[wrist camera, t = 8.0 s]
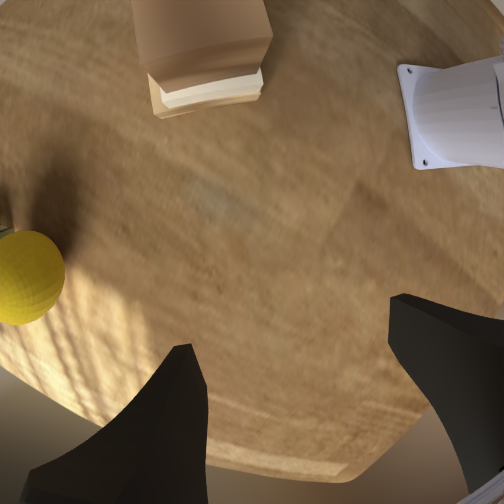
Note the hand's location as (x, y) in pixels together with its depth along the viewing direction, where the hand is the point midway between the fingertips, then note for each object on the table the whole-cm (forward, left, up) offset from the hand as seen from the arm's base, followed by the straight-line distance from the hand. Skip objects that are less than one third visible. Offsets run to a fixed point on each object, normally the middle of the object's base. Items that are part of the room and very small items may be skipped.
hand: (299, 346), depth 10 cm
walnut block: (+1, -13, -6) cm, 14 cm away
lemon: (+15, -3, -11) cm, 19 cm away
